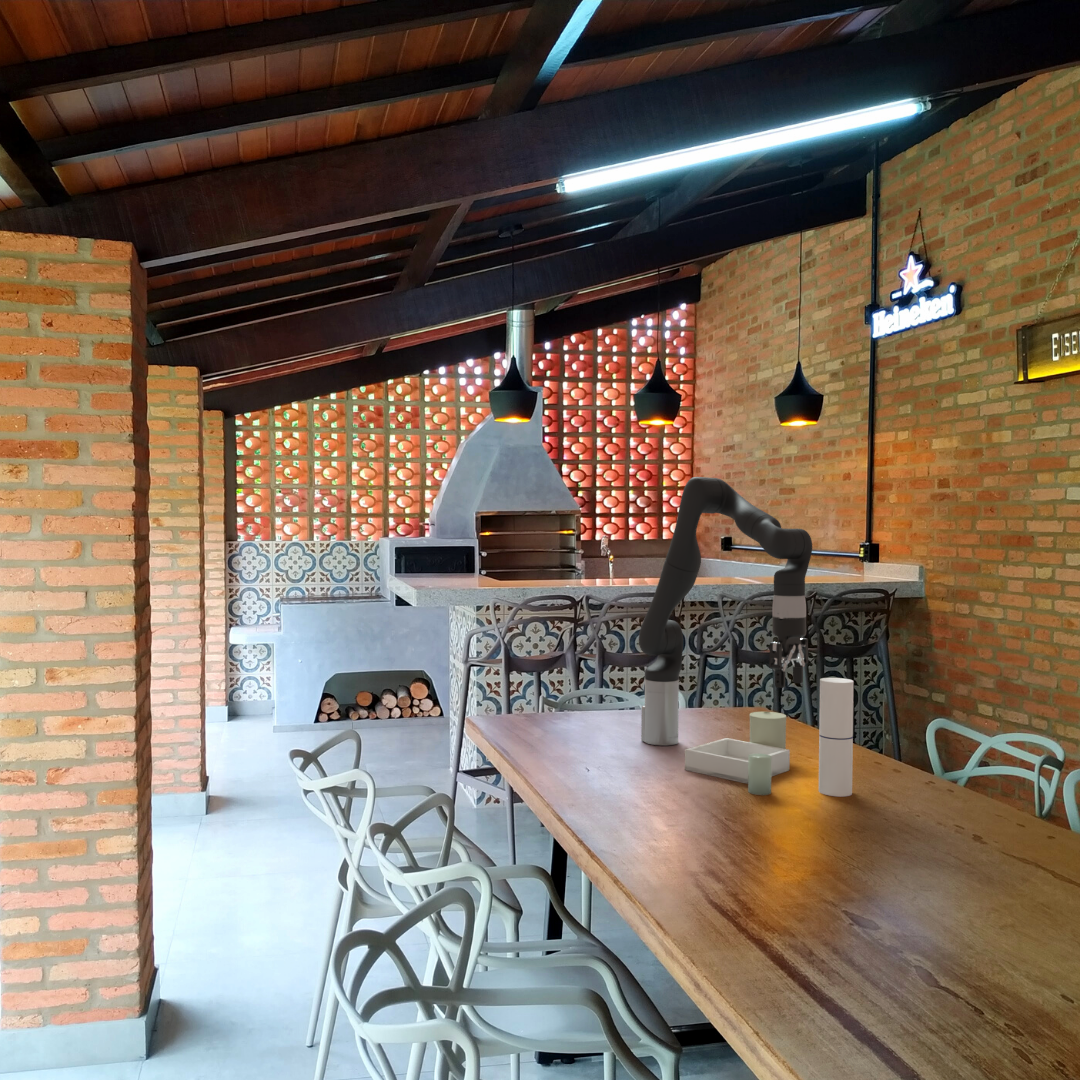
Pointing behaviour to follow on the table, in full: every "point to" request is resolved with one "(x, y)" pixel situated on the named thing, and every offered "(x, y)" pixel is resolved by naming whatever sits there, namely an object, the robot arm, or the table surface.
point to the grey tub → (733, 759)
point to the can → (768, 729)
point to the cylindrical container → (836, 736)
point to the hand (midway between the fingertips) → (789, 685)
